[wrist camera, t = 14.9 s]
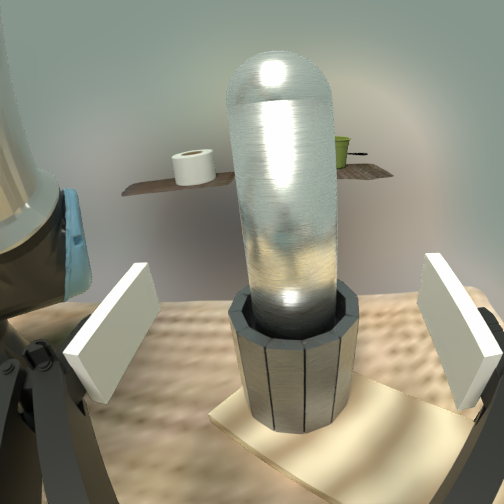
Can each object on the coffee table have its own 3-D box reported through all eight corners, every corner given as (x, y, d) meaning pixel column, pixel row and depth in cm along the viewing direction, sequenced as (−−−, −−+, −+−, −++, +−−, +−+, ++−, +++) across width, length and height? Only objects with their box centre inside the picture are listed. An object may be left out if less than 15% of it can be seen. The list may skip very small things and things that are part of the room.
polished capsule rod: (336, 361, 23) (332, 39, 13) (252, 362, 24) (207, 51, 14) (330, 292, 31) (320, 58, 21) (264, 294, 32) (238, 65, 22)
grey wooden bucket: (226, 399, 30) (204, 314, 25) (289, 345, 36) (283, 261, 31) (306, 451, 24) (309, 371, 19) (365, 381, 30) (379, 292, 25)
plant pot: (356, 169, 112) (355, 139, 107) (325, 171, 113) (323, 140, 107) (346, 162, 123) (344, 135, 118) (317, 164, 123) (315, 136, 118)
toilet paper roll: (219, 173, 127) (216, 147, 122) (211, 183, 113) (206, 154, 108) (182, 177, 129) (178, 152, 124) (170, 188, 115) (165, 159, 110)
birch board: (210, 421, 29) (207, 413, 29) (292, 352, 37) (291, 342, 37) (479, 563, 10) (487, 559, 9) (524, 447, 18) (531, 439, 17)
